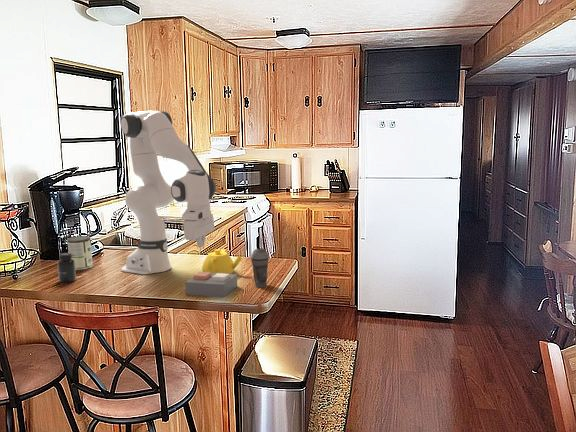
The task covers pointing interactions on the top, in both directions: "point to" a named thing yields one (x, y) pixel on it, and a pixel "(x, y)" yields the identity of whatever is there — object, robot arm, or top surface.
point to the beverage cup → (260, 266)
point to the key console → (211, 286)
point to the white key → (220, 277)
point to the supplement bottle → (66, 268)
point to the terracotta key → (202, 276)
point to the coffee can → (80, 251)
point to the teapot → (220, 262)
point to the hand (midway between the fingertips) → (201, 246)
